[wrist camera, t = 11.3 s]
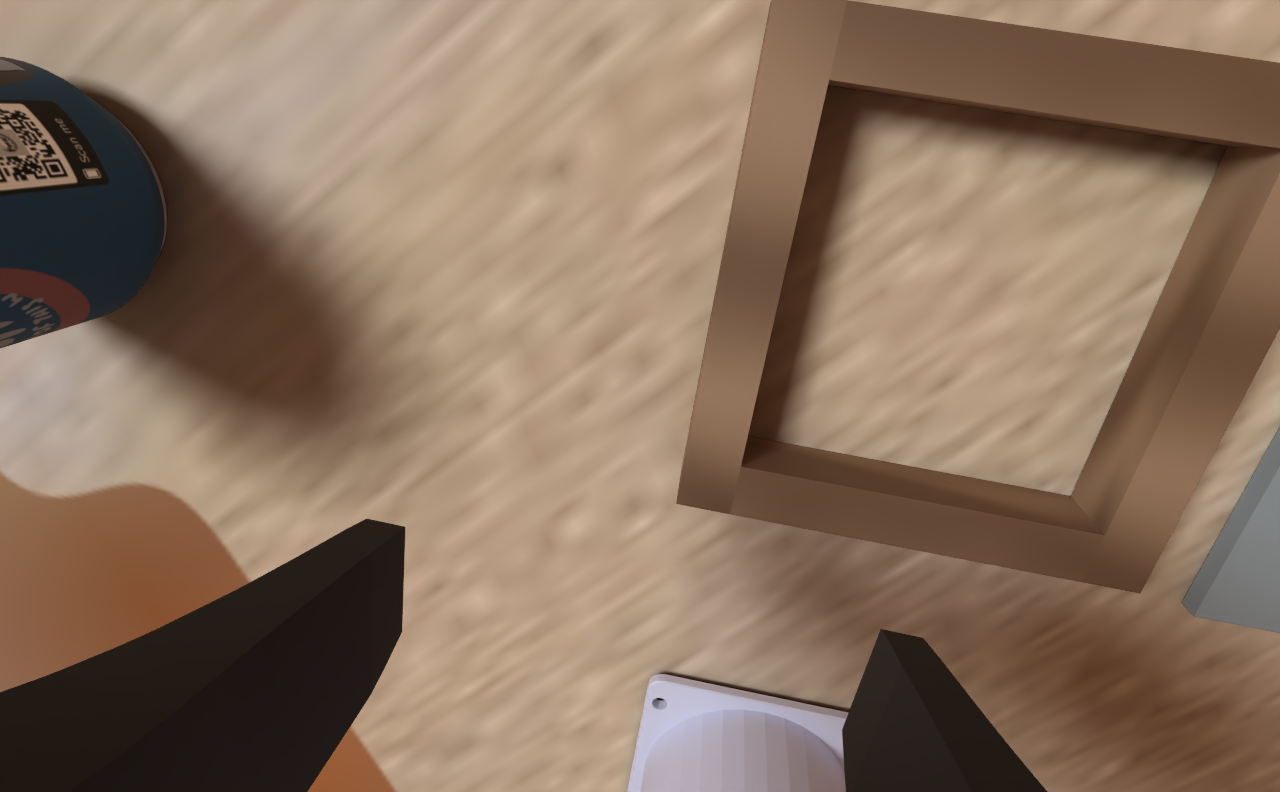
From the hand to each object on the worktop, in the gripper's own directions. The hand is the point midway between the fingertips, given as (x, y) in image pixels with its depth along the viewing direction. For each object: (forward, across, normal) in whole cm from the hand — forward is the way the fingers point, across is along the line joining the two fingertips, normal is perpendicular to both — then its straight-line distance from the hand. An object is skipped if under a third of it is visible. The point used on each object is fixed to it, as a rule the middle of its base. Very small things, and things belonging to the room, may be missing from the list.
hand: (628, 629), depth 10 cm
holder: (+10, -7, -4) cm, 13 cm away
